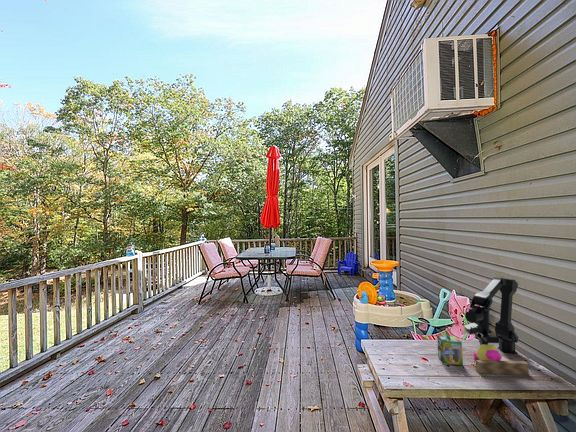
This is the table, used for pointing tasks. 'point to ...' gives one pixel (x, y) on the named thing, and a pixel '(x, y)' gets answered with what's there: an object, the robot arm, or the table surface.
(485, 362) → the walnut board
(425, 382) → the table surface
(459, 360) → the chalk box
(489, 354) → the toy
